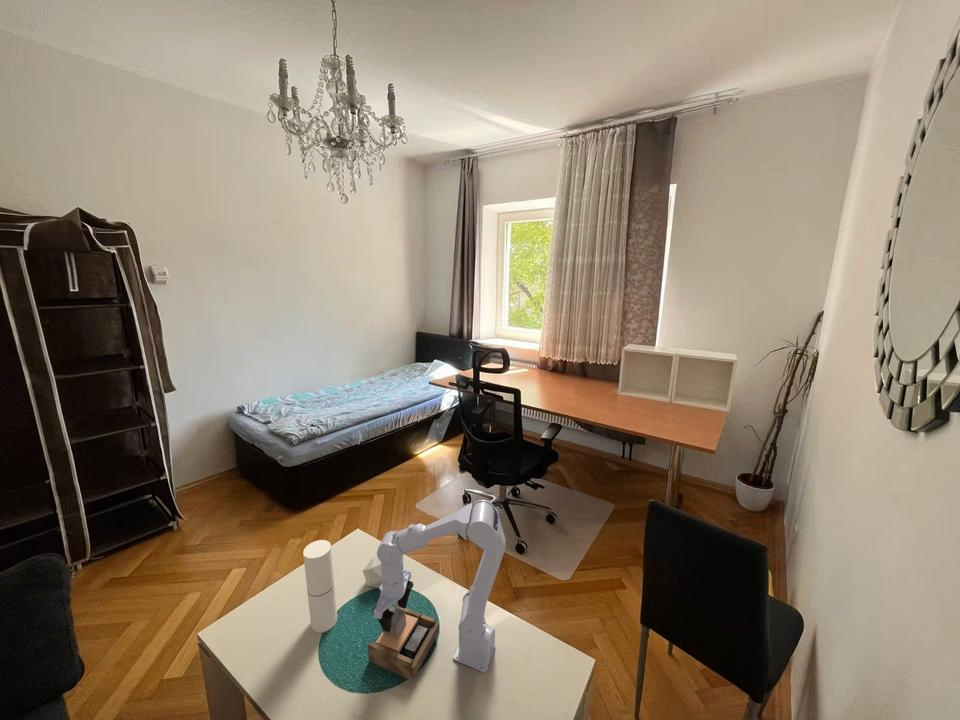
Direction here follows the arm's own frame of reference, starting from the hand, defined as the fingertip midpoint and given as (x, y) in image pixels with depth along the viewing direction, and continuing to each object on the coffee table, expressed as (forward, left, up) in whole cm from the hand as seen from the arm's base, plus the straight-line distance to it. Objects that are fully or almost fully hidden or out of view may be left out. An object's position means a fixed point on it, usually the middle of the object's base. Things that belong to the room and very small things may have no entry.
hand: (394, 618), depth 102 cm
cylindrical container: (+24, +2, -9) cm, 25 cm away
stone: (0, 0, -4) cm, 4 cm away
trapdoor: (-3, 0, -6) cm, 7 cm away
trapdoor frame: (-3, 0, -9) cm, 9 cm away
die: (+18, -16, -9) cm, 25 cm away
